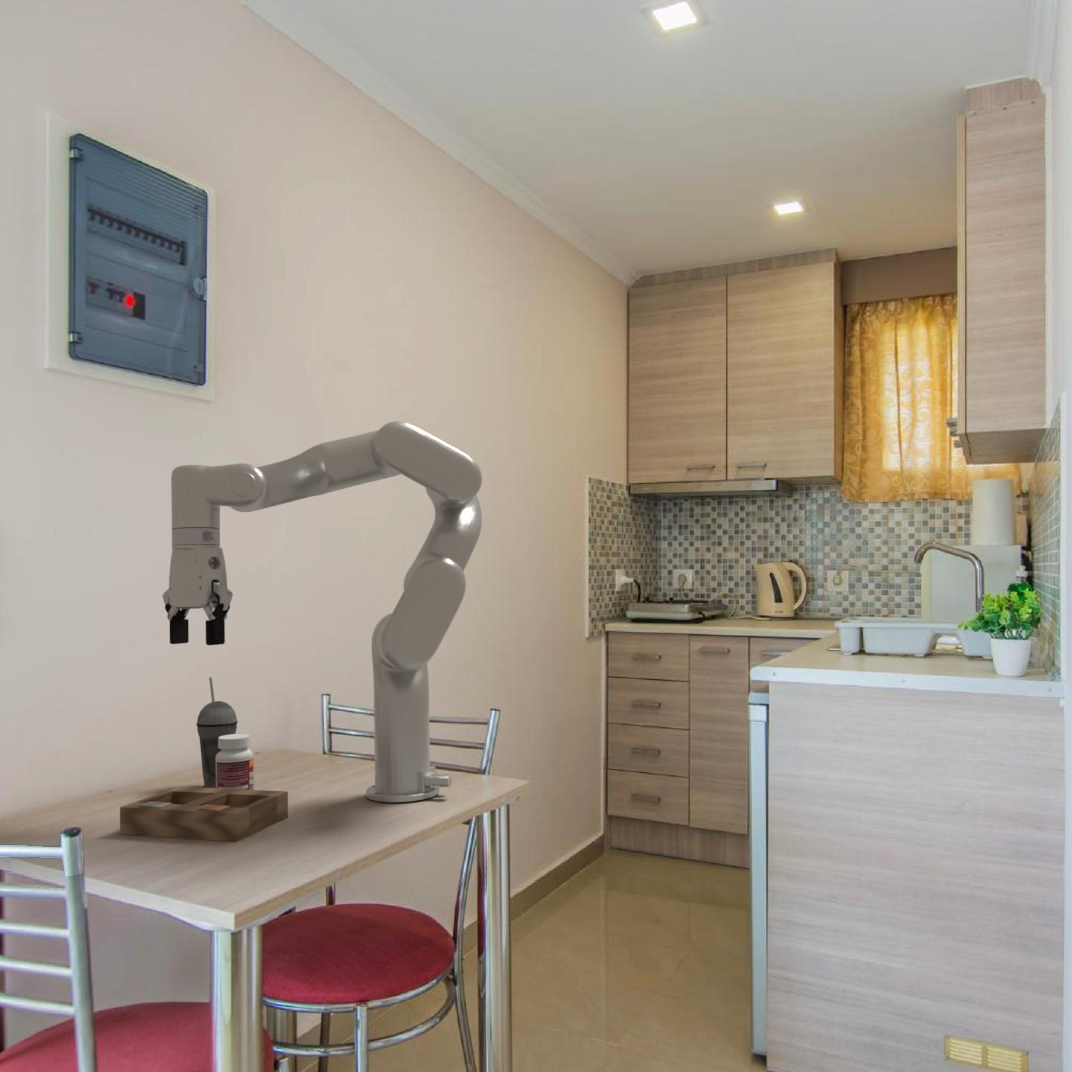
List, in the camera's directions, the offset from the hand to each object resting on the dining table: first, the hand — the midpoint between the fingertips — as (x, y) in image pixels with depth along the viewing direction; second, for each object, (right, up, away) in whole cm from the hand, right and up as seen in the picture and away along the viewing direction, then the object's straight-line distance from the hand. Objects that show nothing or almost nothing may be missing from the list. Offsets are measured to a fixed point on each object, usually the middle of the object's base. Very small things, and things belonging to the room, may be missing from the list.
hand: (197, 644), depth 152 cm
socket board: (+5, -27, -10) cm, 29 cm away
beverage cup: (-3, -29, +18) cm, 34 cm away
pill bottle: (+5, -28, +5) cm, 29 cm away
